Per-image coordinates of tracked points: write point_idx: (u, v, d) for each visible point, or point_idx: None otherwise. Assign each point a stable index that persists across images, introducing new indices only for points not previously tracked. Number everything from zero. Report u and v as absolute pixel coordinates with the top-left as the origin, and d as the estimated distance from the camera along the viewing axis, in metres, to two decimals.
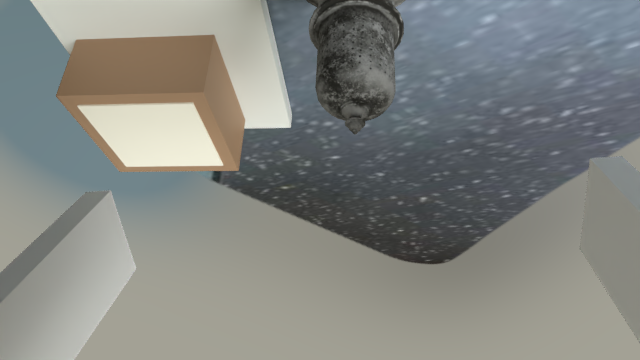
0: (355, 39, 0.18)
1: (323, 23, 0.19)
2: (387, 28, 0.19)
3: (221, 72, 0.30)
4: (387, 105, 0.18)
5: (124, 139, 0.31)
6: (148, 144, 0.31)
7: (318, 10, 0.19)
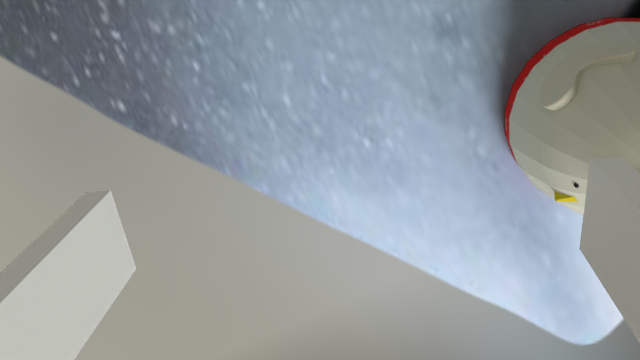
0: None
1: None
2: None
3: None
4: None
5: None
6: None
7: None
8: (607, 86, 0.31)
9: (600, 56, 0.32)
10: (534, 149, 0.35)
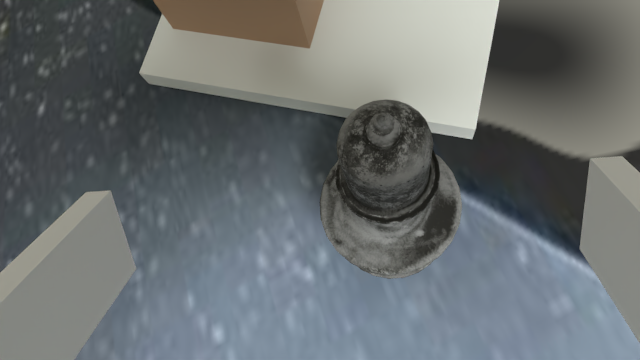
0: (430, 165, 0.16)
1: None
2: (401, 204, 0.17)
3: (269, 33, 0.27)
4: (366, 171, 0.15)
5: None
6: None
7: None
8: None
9: None
10: None
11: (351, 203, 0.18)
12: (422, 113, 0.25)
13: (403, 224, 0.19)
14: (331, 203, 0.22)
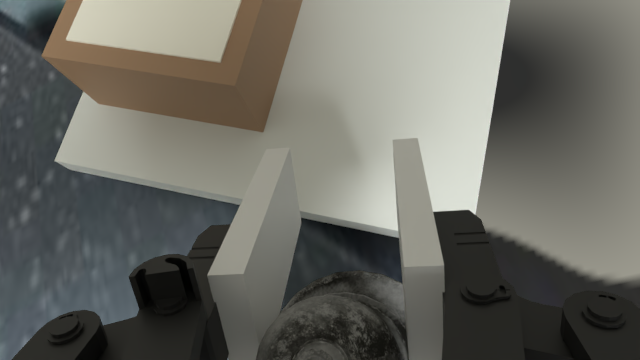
0: None
1: None
2: None
3: (211, 115, 0.21)
4: None
5: None
6: None
7: (400, 323, 0.13)
8: None
9: None
10: None
11: None
12: None
13: None
14: None
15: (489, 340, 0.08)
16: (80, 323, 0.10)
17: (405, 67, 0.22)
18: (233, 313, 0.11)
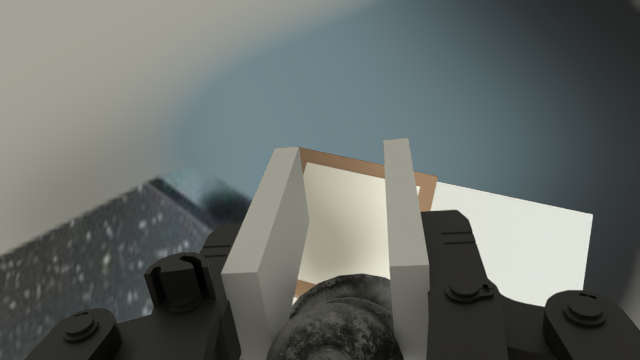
0: None
1: None
2: None
3: None
4: None
5: (356, 195, 0.28)
6: (339, 214, 0.28)
7: None
8: None
9: None
10: None
11: None
12: None
13: None
14: None
15: (472, 338, 0.08)
16: (95, 321, 0.10)
17: (511, 282, 0.30)
18: (246, 311, 0.11)
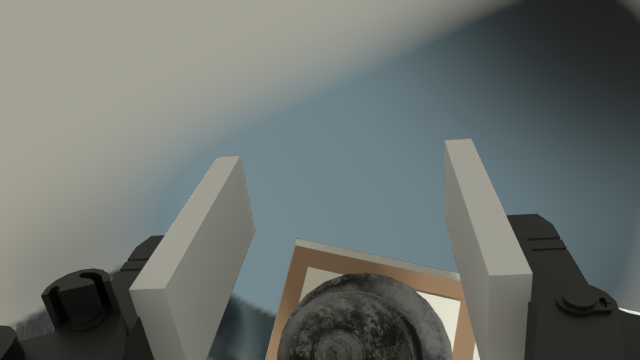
0: None
1: None
2: None
3: None
4: None
5: None
6: None
7: (407, 319, 0.14)
8: None
9: None
10: None
11: None
12: None
13: None
14: None
15: (587, 354, 0.08)
16: None
17: None
18: (158, 327, 0.11)
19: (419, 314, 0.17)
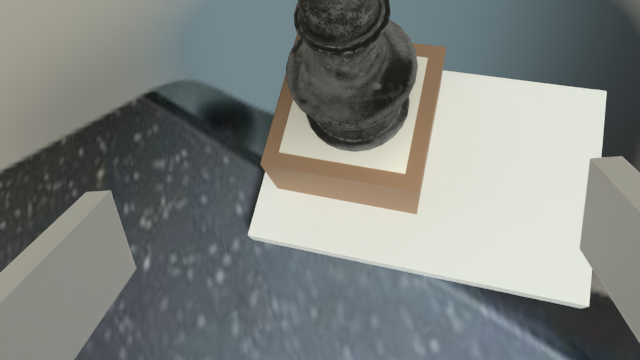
0: None
1: None
2: (353, 31, 0.18)
3: (379, 202, 0.28)
4: None
5: None
6: None
7: None
8: None
9: None
10: None
11: (308, 38, 0.19)
12: (535, 287, 0.26)
13: (360, 69, 0.21)
14: (296, 68, 0.23)
15: None
16: None
17: (526, 162, 0.28)
18: None
19: (392, 32, 0.23)
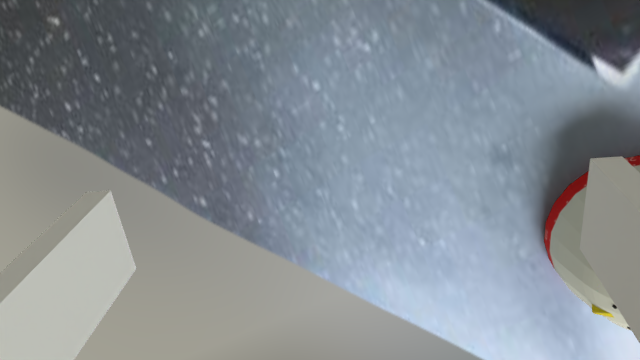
0: None
1: None
2: None
3: None
4: None
5: None
6: None
7: None
8: None
9: None
10: (576, 267, 0.42)
11: None
12: None
13: None
14: None
15: None
16: None
17: None
18: None
19: None
